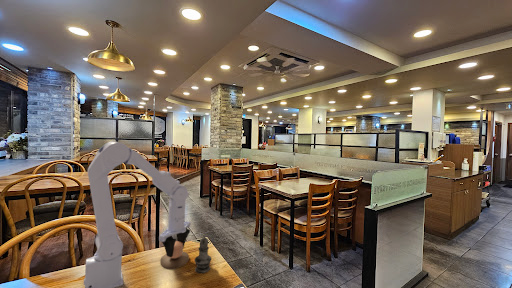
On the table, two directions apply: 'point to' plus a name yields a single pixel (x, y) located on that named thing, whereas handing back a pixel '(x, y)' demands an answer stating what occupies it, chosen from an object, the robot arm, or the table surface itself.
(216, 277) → the table surface
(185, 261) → the post stand
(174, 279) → the table surface
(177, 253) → the cap
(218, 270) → the table surface
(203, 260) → the dark grey chess piece
